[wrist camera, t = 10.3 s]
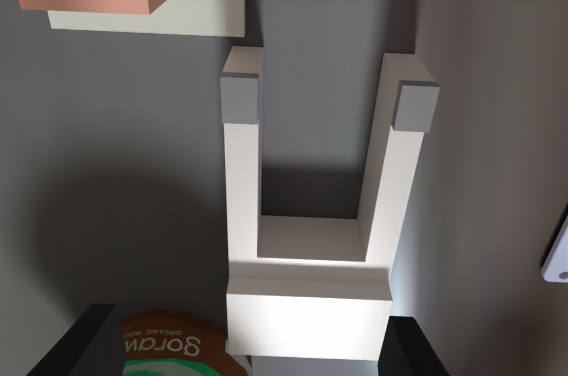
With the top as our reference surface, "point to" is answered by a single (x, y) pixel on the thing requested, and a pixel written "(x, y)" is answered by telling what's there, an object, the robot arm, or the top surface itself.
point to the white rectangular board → (164, 19)
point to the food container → (179, 346)
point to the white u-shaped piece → (318, 225)
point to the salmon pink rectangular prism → (95, 6)
